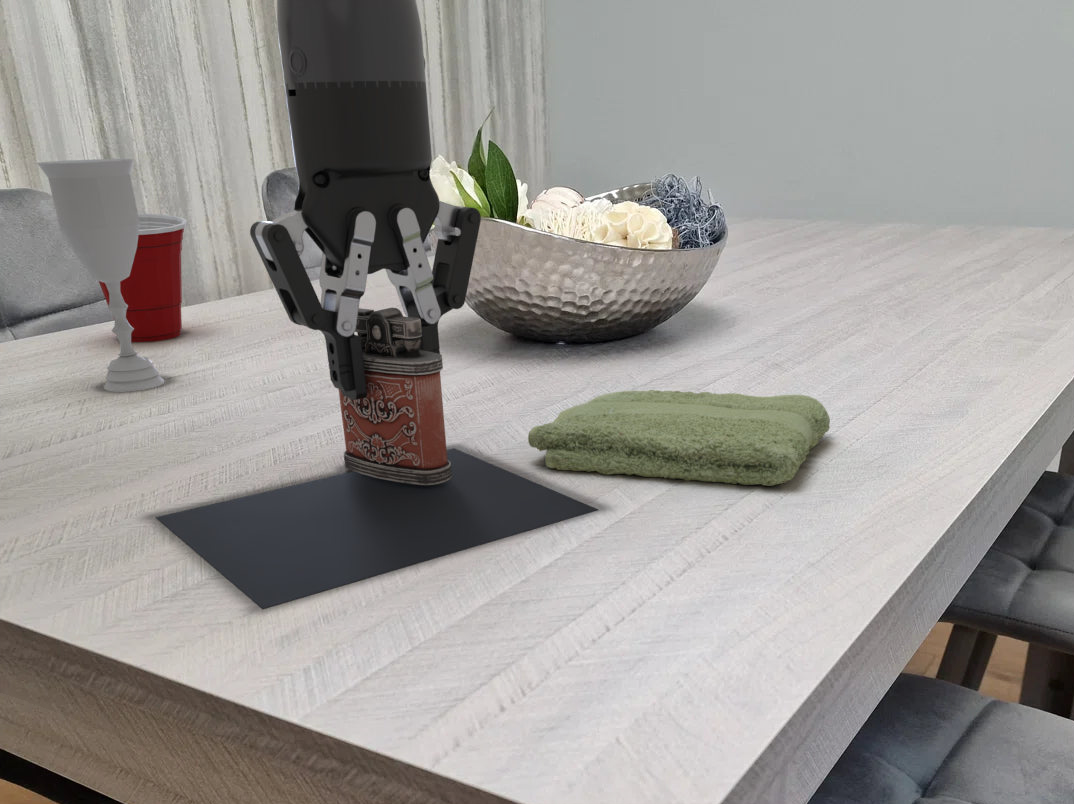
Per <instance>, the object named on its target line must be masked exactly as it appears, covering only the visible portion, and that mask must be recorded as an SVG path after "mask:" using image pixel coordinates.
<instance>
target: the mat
mask: <svg viewBox="0 0 1074 804" xmlns="http://www.w3.org/2000/svg"><path fill="white" fill-rule="evenodd" d="M447 460H448V461H450V463H451V473H452V477H451V479H449V480H448V481H446V482H443V483H439V484H434V485H418V484H410V483H402V482H396V481H390V480H385V479H379V478H375V477H372V476H368V475H364V474H361V473H358V472H355V471H349V472H345V473H341V474H340V473H339V474H337V475H331V476H326V477H323V478H318V479H315V480H310V481H306V482H302V483H298V484H292V485H289V486H285V487H280V488H276V489H271V490H267V491H262V492H259V493H258V492H257V493H253V494H250V495H245V496H241V497H237V498H232V499H228V500H224V501H219V502H215V503H211V504H206V505H202V506H197V507H193V508H189V509H184V510H180V511H176V512H172V513H171V512H170V513H167V514H163V515H157V516H155V519H156V520H157V521H159V523H161V524H162V525H163V526H164V527H165V528H167V529H168V530H169V531H170V532H171V533H173V534H174V535H175V536H176V537H177V538H179V539H180V541H182V542H183V543H184V544H185V545H187V546H188V547H189V548H190V549H191V550H192V551H193V552H195V553H196V554H197V555H198V556H200V558H202V559H203V560H204V561H205V562H206V563H207V564H209V565H210V566H211V567H212V568H213V569H214V570H216V571H217V572H218V573H219V574H221V576H222V577H224V578H225V579H226V580H228V581H229V582H230V583H231V584H232V585H233V586H235V588H236V589H237V590H239V591H240V592H241V593H242V594H244V595H245V596H246V597H248V599H250V601H252V602H253V603H254V604H255V605H257V606H258V607H259V608H260V609H262V610H266V609H269V608H273V607H277V606H279V605H283V604H286V603H290V602H294V601H296V600H299V599H304V598H307V597H311V596H313V595H316V594H317V595H318V594H320V593H324V592H327V591H331V590H334V589H337V588H340V587H344V586H347V585H350V584H353V583H358V582H360V581H364V580H367V579H370V578H374V577H378V576H382V575H384V574H388V573H391V572H395V571H398V570H401V569H405V568H408V567H411V566H414V565H419V564H422V563H425V562H428V561H431V560H435V559H438V558H442V557H445V556H448V555H452V554H456V553H459V552H462V551H466V550H468V549H469V550H470V549H472V548H475V547H479V546H482V545H485V544H489V543H493V542H496V541H500V540H503V539H506V538H509V537H514V536H516V535H520V534H523V533H526V532H529V531H533V530H536V529H540V528H543V527H547V526H549V525H553V524H558V523H560V522H563V521H567V520H570V519H573V518H577V517H580V516H583V515H587V514H590V513H594V512H597V511H599V510H600V509H599V508H596V507H594V506H592V505H589V504H587V503H585V502H582V501H580V500H577V499H575V498H573V497H570V496H568V495H565V494H563V493H561V492H558V491H557V490H554V489H552V488H549V487H547V486H544V485H542V484H539V483H537V482H536V481H533V480H530V479H528V478H525V477H523V476H520V475H518V474H516V473H514V472H512V471H509V470H507V469H504V468H502V467H500V466H497V465H496V464H492V463H491V462H487V461H486V460H483V459H481V458H478V457H476V456H473V455H471V454H469V453H467V452H464V451H462V450H460V449H457V448H455V447H453V448H449V449H448V448H447Z"/></svg>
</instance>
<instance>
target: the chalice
mask: <svg viewBox="0 0 1074 804" xmlns="http://www.w3.org/2000/svg"><path fill="white" fill-rule="evenodd" d="M134 160H135V159H134V158H100V159H73V160H72V159H71V160H55V161H42V162H37V165H38V166H39V167H40V169H41V170H42V171H43V173H44V174H45V176H46V177H47V180H48V184H49V188H50V192H51V197H52V200H53V205H54V209H55V215H56V219H57V223H58V227H59V230H60V231H61V233H62V235H63V237H64V239H65V241H66V242H67V244H68V246H69V248H70V249H71V250H72V252H73V253H74V255H75V256H76V258H77V259H78V261H79V262H80V263H81V265H82V266H83V267H84V268H85V270H86V271H87V273H88V274H89V275H90V276H91V278H92V279H93V280H95V281H97V282H99V281H100V282H104V283H105V284H106V286H107V289H108V291H109V306H108V305H107V309H108V310H109V311H110V312H111V314H112V317H113V316H114V317H113V319H114V318H115V320H114V326H113V327H112V329H111V332H112V333H114V334H115V335H116V337H117V340H118V342H119V346H120V347H119V348H120V349H119V353H118V354H117V356H118V357H117V358H116V359H113V360H111V361H110V362H109V365H108V366H107V370H108V371H107V373H106V375H105V380H106V382H105V384H104V386H103V388H104V390H106V391H108V392H114V393H115V392H117V393H121V392H122V393H123V392H124V393H125V392H136V391H137V392H138V391H143V390H150V389H153V388H157V387H159V386H162V385H163V384H164V383H165V380H164V378H162V376H161V375H160V371H159V370H158V369H157V368H156V367H155V366H154V362H153V361H152V360H151V359H149V358H148V357H146V356H141V355H139V352H138V351H136V350H135V348H134V346H133V342H131V332H132V331H133V330H134V328H133V327H132V326H130V325H129V323H128V321H127V319H126V310H127V308H128V305H127V304H126V303H125V302H124V300H123V297H122V295H121V292H120V281H122V280H124V279H126V278H127V277H129V276H130V272H131V268H132V264H133V260H134V257H135V253H136V249H137V243H138V234H139V226H140V222H139V217H138V214H139V212H138V208H137V203H136V198H135V197H136V196H135V193H134V189H133V184H132V177H131V172H132V169H133V164H134Z"/></svg>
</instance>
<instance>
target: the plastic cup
mask: <svg viewBox="0 0 1074 804" xmlns="http://www.w3.org/2000/svg"><path fill="white" fill-rule="evenodd" d="M138 217H139V222H140V226H139V234H138V243H137V249H136V253H135V257H134V260H133V264H132V268H131V272H130V276H129V277H127V278H126V279H124V280H122V281H120V292H121V295H122V297H123V300H124V302H125V303H126V304H127V305H128V308H127V310H126V319H127V321H128V323H129V325H130V326H132V327H133V328H134V330H133V331H132V332H131V343H147V342H148V343H149V342H151V343H152V342H159V341H166V340H170V339H175V338H177V337H180V336H181V335H182V328H183V324H182V322H183V321H182V303H183V287H182V286H183V285H182V284H183V283H182V281H183V280H182V278H183V277H182V250H183V239H184V231H185V228H186V227H187V225H188V219H185V218H183V217H182V216H175V215H171V214H161V213H160V214H159V213H158V214H157V213H138ZM98 283H99V286H100V289H101V292H102V294H103V296H104V300H105V302H106V305H107V307H108V306H109V291H108V289H107V286H106V284H105V283H104V282H100V281H98ZM112 317H113V319H114V321H115V318H114V316H113V315H112Z"/></svg>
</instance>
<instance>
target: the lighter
mask: <svg viewBox="0 0 1074 804" xmlns="http://www.w3.org/2000/svg"><path fill="white" fill-rule="evenodd" d="M354 333H357V334H356V335H358V336H361V344H362V352H363V361H364V370H365V379H366V387H367V396H366V398H363V399H357V400H353V399H350V398H348V397H345V396H343V394H342V393H341V390H340V389H338V397H339V404H340V412H341V420H342V429H343V434H344V435H343V436H344V445H345V450H344V451H343V460H344V467H345V469H347V470H350V471H351V472H353V471H355V472H358V473H361V474H364V475H368V476H372V477H375V478H379V479H385V480H390V481H396V482H402V483H410V484H418V485H434V484H439V483H443V482H446V481H448V480H449V479H451V477H452V473H451V463H450V461H448V460H447V450H448V448H447V438H446V428H445V427H446V426H445V413H444V402H443V401H444V400H443V391H442V380H441V379H442V378H441V371H442V370H443V369H444V365H443V363H444V362H443V355H442V354H441V353H440V354H438V353H433V352H429V351H424V350H419V346H420V342H421V341H420V337H421V336H422V331H421V320H420V318H412V317H407V316H404V315H403V313H402V311H401V310H400V309H398V308H397V307H388V308H383V309H379V310H374V309H370V308H369V309H368V308H360V307H359V310H358V318H357V326H356V330H355V332H354Z"/></svg>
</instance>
